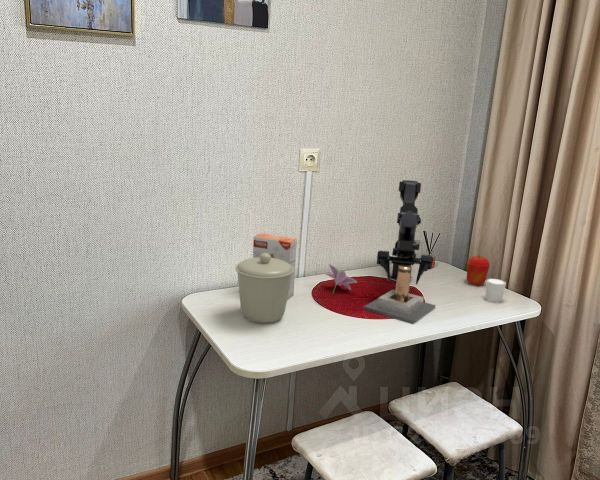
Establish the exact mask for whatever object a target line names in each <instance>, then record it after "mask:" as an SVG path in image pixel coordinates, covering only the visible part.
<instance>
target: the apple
mask: <svg viewBox="0 0 600 480" xmlns="http://www.w3.org/2000/svg"><path fill="white" fill-rule="evenodd" d="M489 268H490V261H489V260H488V259H487V257H483V256H482V255H481V254H479V255H478V256H477V255H476V256H472V257H469V259H468V260H467V261H466V281H467V282H468V283H469V284H472V285H473V286H481V285H483V284H484V283H486V280H487V275H488V272H489Z"/></svg>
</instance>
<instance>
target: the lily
mask: <svg viewBox="0 0 600 480" xmlns="http://www.w3.org/2000/svg"><path fill="white" fill-rule="evenodd" d="M328 266H329V268H330V270H331V273H330V272H329V273H328V272H327V273H325V275H326V276H328V277H329V278H331V279H334V283H335V285H334V287H333V290H332V294H334V293H335V290H336V287H337V285H338V286H342V285H343V286H344V287H345V288H347V289H348V290H349V291H352V288H351V285H350V284H358V281H357V280H356V279H354V278H352V277H350V276H347V274H346V272H345V270H341V271H339V269H338V268H336V266H334V265H332V264H330V263H328Z"/></svg>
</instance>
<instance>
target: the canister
mask: <svg viewBox="0 0 600 480" xmlns="http://www.w3.org/2000/svg"><path fill="white" fill-rule="evenodd" d="M234 268H235V271H236V272H237V282H238V293H239V294H238V295H239V304H240V311H241V314H242V316H243V317H244V318H245V320H247V321H250V322H253V323H256V324H257V323H258V324H271V323H275V322H277V321H280V320H281V319H282V318H283V316H284V315H285V312H286V307H287V304H288V303H287V302H288V300H287V298H288V292H289V286H290V280H291V274H292V273H293V272H294V268H293V266H291V265H290V264H288V263H287V262H285V261H283V260H280V259H276V258H271V256H270V255H269V254H268V253H262V254H261V255H260V257H256V258H253V257H249V258H246V259H244V260H242V261H240V262H238V263H237V264H236V265H235V267H234Z"/></svg>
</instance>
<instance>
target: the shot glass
mask: <svg viewBox="0 0 600 480" xmlns="http://www.w3.org/2000/svg"><path fill="white" fill-rule="evenodd" d="M506 286H507V282H506V281H504V280H502V279H498V278H486V280H485V297H484V298H485V299H484V300H486V301H488V302H490V301H491V303H501V302H502V301H503V297H504V293H505V289H506Z"/></svg>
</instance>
